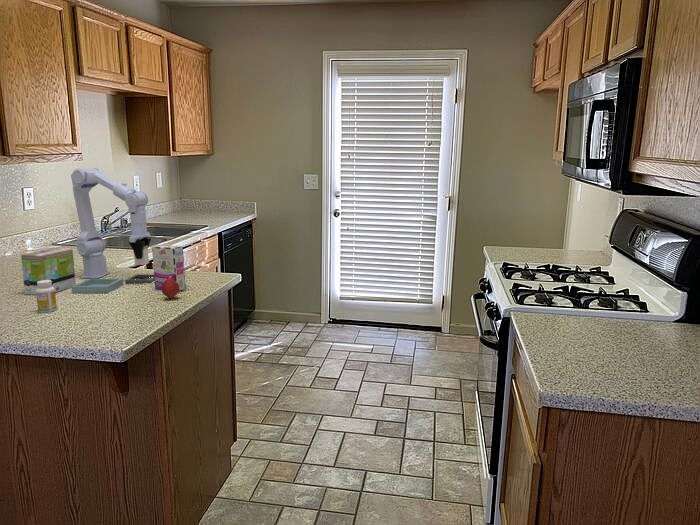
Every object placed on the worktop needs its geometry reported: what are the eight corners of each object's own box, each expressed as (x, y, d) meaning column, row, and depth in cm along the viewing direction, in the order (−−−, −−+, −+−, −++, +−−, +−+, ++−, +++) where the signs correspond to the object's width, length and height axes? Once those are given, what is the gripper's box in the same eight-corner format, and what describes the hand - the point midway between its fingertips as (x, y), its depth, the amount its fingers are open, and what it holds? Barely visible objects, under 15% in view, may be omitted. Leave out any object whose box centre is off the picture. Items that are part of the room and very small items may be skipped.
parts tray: (90, 285, 210) (89, 278, 210) (123, 285, 210) (122, 278, 209) (72, 293, 198) (71, 286, 197) (107, 293, 197) (106, 286, 197)
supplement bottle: (52, 307, 180) (49, 278, 178) (60, 310, 176) (56, 280, 174) (35, 311, 176) (31, 281, 174) (42, 313, 172) (38, 284, 170)
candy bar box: (186, 289, 202) (183, 246, 199) (176, 292, 198) (173, 248, 194) (164, 286, 207) (161, 244, 204) (154, 289, 203) (151, 246, 199)
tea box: (48, 296, 195) (43, 255, 192) (24, 294, 197) (19, 254, 194) (77, 286, 209) (73, 248, 206) (54, 285, 211) (50, 247, 208)
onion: (162, 301, 186) (160, 278, 184) (162, 297, 191) (161, 275, 190) (179, 300, 187) (178, 277, 186) (180, 296, 193) (178, 274, 191)
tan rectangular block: (139, 262, 217) (137, 245, 216) (149, 262, 217) (147, 245, 216) (134, 264, 213) (133, 247, 212) (144, 264, 213) (143, 247, 212)
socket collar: (136, 278, 222) (136, 274, 221) (160, 278, 221) (160, 274, 221) (125, 283, 212) (125, 280, 212) (150, 283, 212) (150, 280, 211)
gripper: (141, 225, 205) (144, 261, 208) (156, 221, 219) (158, 254, 222) (122, 225, 205) (125, 261, 208) (138, 221, 219) (141, 254, 222)
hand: (141, 257), depth 215 cm, fingers closed on tan rectangular block, 4 cm apart
